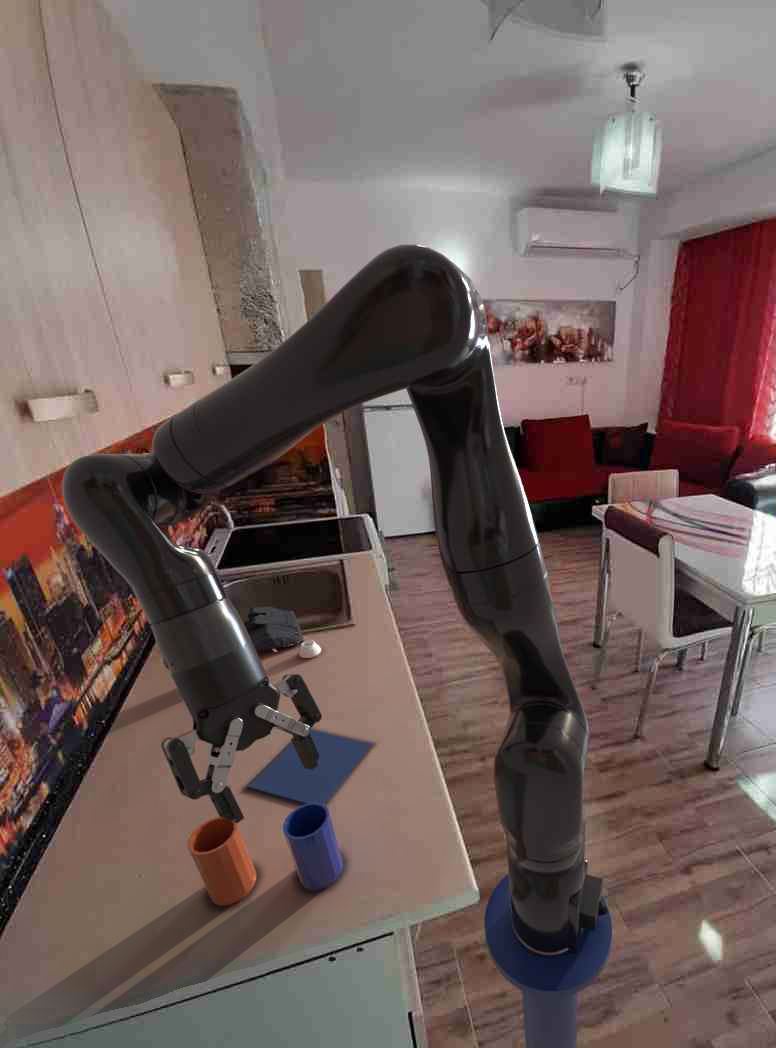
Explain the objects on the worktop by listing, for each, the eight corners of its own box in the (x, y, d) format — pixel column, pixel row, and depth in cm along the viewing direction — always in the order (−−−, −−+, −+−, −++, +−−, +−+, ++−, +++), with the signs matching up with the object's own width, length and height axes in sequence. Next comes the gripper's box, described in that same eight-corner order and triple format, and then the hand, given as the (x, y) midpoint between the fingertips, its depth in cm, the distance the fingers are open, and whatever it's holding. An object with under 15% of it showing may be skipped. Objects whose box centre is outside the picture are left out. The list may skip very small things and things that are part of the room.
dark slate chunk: (241, 663, 122) (236, 646, 120) (236, 626, 140) (231, 610, 138) (307, 644, 129) (303, 628, 127) (293, 611, 146) (290, 596, 144)
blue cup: (351, 858, 73) (337, 808, 69) (326, 895, 68) (310, 844, 64) (317, 847, 75) (302, 798, 71) (291, 883, 70) (273, 832, 66)
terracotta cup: (265, 872, 72) (246, 821, 68) (233, 911, 67) (211, 860, 63) (234, 861, 74) (213, 811, 70) (200, 898, 69) (176, 847, 65)
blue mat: (372, 744, 94) (371, 743, 94) (321, 808, 81) (320, 807, 81) (306, 729, 99) (305, 728, 99) (248, 787, 86) (247, 786, 86)
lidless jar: (323, 654, 124) (317, 646, 128) (321, 644, 123) (315, 636, 126) (303, 661, 121) (297, 653, 125) (300, 651, 120) (294, 642, 124)
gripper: (141, 688, 43) (223, 849, 46) (292, 620, 53) (350, 755, 56) (119, 688, 48) (195, 833, 51) (261, 626, 58) (316, 749, 61)
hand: (276, 791), depth 53 cm, fingers open, 8 cm apart
